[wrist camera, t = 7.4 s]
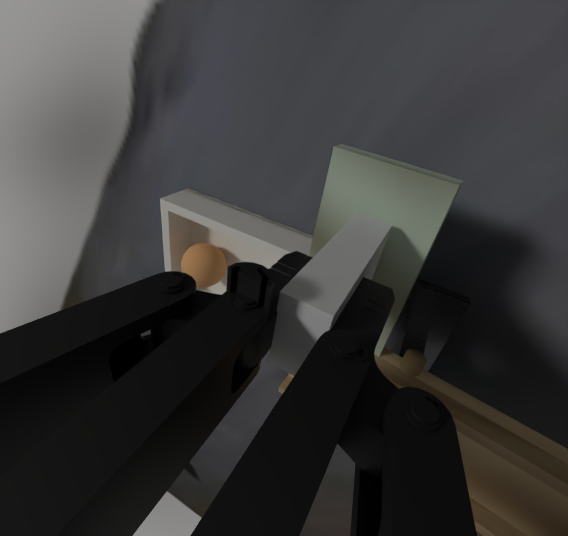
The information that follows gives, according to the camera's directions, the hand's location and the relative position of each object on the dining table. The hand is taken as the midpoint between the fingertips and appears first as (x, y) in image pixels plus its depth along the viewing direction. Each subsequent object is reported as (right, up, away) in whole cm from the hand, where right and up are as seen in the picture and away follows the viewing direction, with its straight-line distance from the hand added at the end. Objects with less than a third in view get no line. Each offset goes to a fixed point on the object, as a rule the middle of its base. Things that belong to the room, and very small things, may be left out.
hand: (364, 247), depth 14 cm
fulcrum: (+5, -6, +9) cm, 12 cm away
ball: (-10, -1, +12) cm, 15 cm away
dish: (-6, -1, +13) cm, 14 cm away
